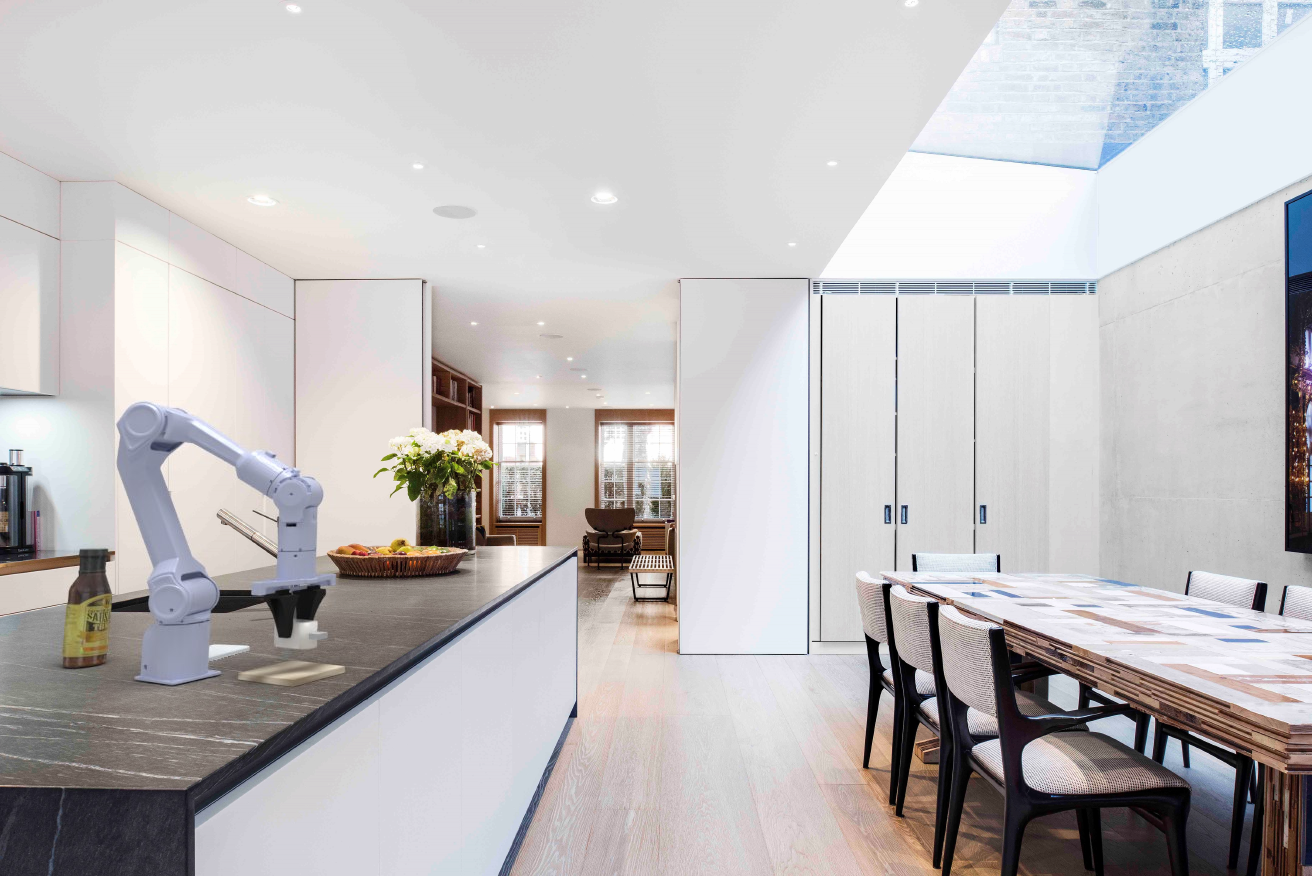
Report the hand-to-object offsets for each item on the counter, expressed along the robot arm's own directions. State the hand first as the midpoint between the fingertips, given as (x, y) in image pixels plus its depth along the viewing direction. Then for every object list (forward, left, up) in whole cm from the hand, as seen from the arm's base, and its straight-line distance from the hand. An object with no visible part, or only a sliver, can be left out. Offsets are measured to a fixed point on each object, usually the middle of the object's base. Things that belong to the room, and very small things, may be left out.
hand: (294, 635), depth 119 cm
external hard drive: (-27, +4, -7) cm, 28 cm away
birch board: (0, 0, -6) cm, 6 cm away
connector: (0, 0, -2) cm, 2 cm away
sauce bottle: (-40, -8, -6) cm, 41 cm away
